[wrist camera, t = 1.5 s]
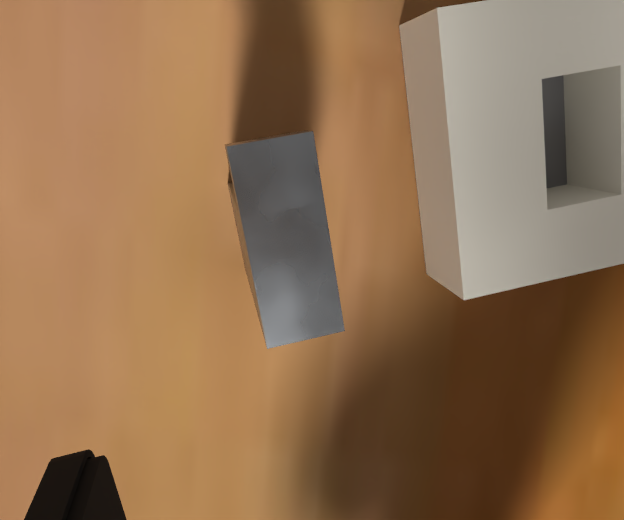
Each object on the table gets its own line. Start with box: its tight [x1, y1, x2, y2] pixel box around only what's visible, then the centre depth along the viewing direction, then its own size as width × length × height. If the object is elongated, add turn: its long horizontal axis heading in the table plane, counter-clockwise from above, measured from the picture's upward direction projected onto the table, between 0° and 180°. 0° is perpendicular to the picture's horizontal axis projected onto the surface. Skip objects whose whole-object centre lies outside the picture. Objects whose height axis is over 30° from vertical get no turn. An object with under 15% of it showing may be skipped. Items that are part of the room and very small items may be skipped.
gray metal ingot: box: [225, 130, 345, 349], centre depth 25 cm, size 8×3×11 cm, turn 9°
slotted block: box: [399, 0, 624, 300], centre depth 30 cm, size 14×14×5 cm
